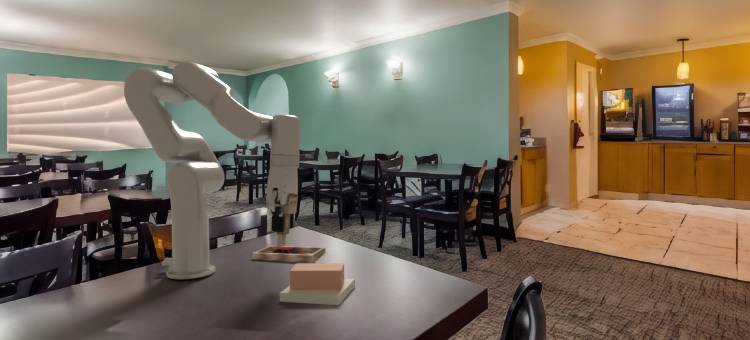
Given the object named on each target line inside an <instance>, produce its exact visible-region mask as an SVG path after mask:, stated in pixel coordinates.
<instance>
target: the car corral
mask: <svg viewBox="0 0 750 340" xmlns="http://www.w3.org/2000/svg"><path fill="white" fill-rule="evenodd" d="M282 247H293V248H295V249H297V250H298V251H300V252H302V253H305V252H307V253H306V254H282V253H268V252H271V251H274V250H276V249H277V248H280V247H277V245H268V246H266V247H264V248H261V249H259V250H256V251H254V252H252V260H259V261H260V260H261V261H275V262H276V261H277V262H290V263H314V262H315V261H317V260H319V258H320V257H321V256H323V255H324V254H325V253H327V252H326V251H327V250H326V248H327V247H321V246H293V245H290V246H289V245H285V246H282ZM308 253H311V254H309V255H307V254H308Z"/></svg>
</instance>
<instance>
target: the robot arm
mask: <svg viewBox="0 0 750 340" xmlns="http://www.w3.org/2000/svg"><path fill="white" fill-rule="evenodd" d="M123 94H124V95H123V96H124V100H125V103H126V104H127V107H128V109H129V111H130V112H131V114H132V115H133V116H134V118H135V119H136V121H137V123H138V124H139V125H140V128H141V129H142V131H143V133H144V135H145V137H146V138H147V139H148V142H149V144H150V145H151V147H152V148H153V151H154V152H155V154H156V155H157V157H158V158H159V159H160V160H161V161H162V162H165V163H171V164H174V165H172V167H171V168H170V169H169V170H168V173H167V176H166V185H167V190H168V194H169V198H170V207H171V208H170V209H171V210H170V211H171V212H170V213H171V249H172V251H171V257H164V259H163V261H162V262H161V266H162V267H168V270H167V271H166V272H165V273H166V275H165V276H166V277H167V278H169V279H172V280H192V279H197V278H198V279H199V278H203V277H207V276H210V275H212V274H214V273H215V272H216V266H215V265H212V264H210V228H209V227H210V225H209V224H210V223H209V221H210V219H209V205H208V202H207V200H206V197H205V194H206V195H207V194H212V193H215V192H217V191H219V190H220V189H222V187H223V185H224V184H225V183H224V182H225V172H224V170H223V167H222V165H221V163H220V162H219V160H218V159H217V157H216V154H215V153H214V152H213V150H212V149H211V146H210V145H209V143H208V141H207V140H206V139H205V138H204V137H203V136H202V135H200V134H199V133H197V132H195V131H190V130H189V131H188V130H183V129H181V128H180V127H179V125H178V124H177V123H176V121H175V119H174V117H173V116H172V114H171V112H169V110H168V109H167V108H166V107H165V106H164V105H163V104H162V103H161V102H165V103H168V104H169V103H170V104H182V103H186V102H192V101H193V102H194V101H196V102H197V103H198V104H200V105H201V106H203V107H204V108H205V109H207V110H208V111H209V113H210V115H211V116H212V117H213V119H214V120H215V121H216V122H217V123H218V124H219V126H221V127H222V128H224V129H225V130H227V131H228V132H230V133H231V134H232V135H233V136H235V137H236V138H238V139H240V140H242V141H244V142H245V141H246V142H256V143H270V153H269V154H270V155H269V156H270V157H269V162H270V163H269V172H268V178H267V184H266V186H267V187H266V197H265V198H266V199H265V201H266V204H267V206H268V208H269V209H270V210H269V211H270V216H271V228H270V229H271V232H274V233H276V232H283V231H284V217H282V216H283V210H284V205H286V204H287V200H288V196H289V193H290V194H291V195H292V193H293V194H297V195H298V193H299V178H298V177H299V176H298V174H299V173H298V169H299V168H300V150H301V149H300V143H301V120H300V118H299V117H298V116H297V115H291V114H276V115H273V116H271V115H266V114H262V113H258V112H254V111H251V110H249V109H248V108H246V107H245V106H243V105H242V104H241V103H239V102H238V101H237V100H235V99H234V97H233V90H232V88H231V87H230V86H229V85H227V84H226V83H224V81H222V80H221V79H220V76H219V75H218V73H217V72H216V71H215V70H213V69H212V68H211V67H208V66H205V65H203V64H199V63H197V62H194V61H188V60H186V61H180V62H178V63H177V64H175V66H173V68H172V72H171V73H169V72H165V71H162V70H159V69H155V68H149V67H138V68H135V69H133V70H131V71H130V72H129V73H128V74H127V76H126V78H125V81H124V86H123ZM160 101H161V102H160ZM298 196H299V195H298ZM276 202H280V203H281V204H276ZM278 207H280V211H279V209H278ZM294 216H295V213H292V214H291V215H290V229H293V228H294V220H295V219H294Z"/></svg>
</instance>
